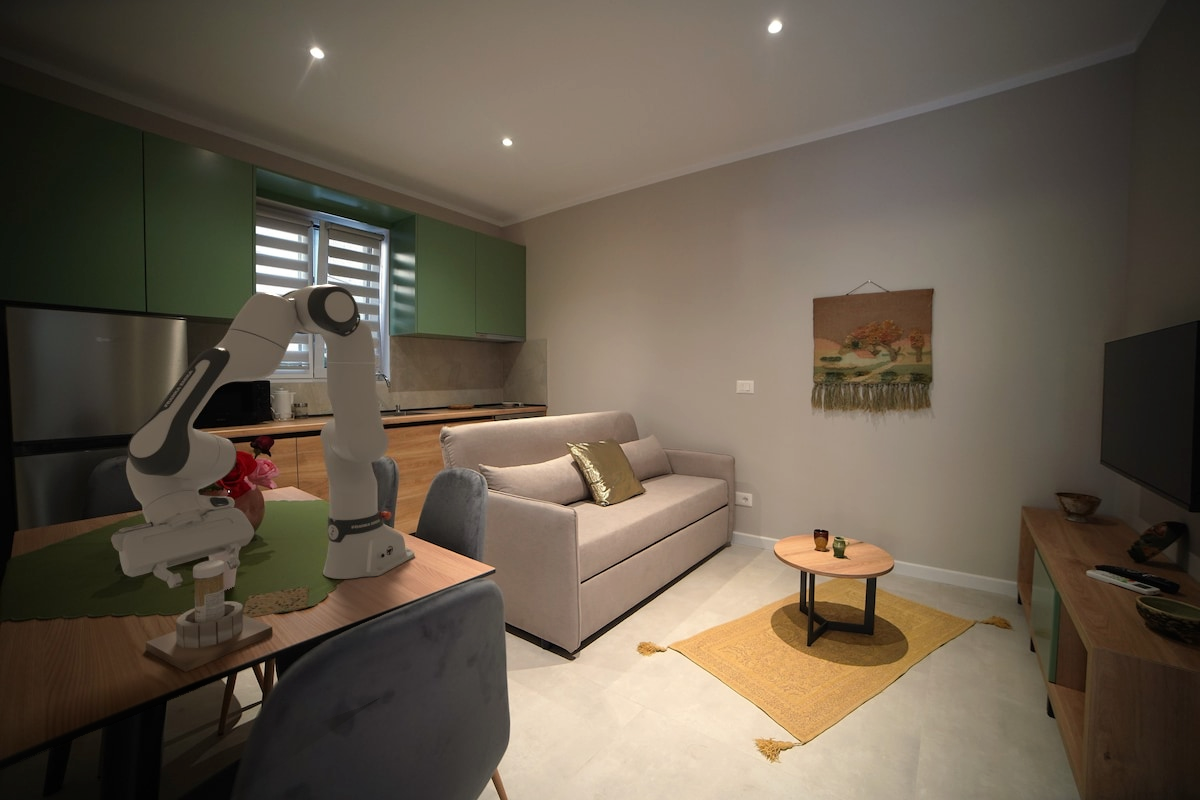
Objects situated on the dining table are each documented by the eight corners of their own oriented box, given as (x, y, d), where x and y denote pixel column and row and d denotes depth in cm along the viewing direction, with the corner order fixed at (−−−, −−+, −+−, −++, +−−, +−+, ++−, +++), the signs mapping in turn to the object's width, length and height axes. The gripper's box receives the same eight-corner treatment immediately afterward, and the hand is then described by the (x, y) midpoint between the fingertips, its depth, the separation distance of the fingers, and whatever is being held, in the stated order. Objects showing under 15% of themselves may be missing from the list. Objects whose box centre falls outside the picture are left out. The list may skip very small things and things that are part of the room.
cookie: (239, 622, 102) (239, 617, 102) (247, 598, 112) (247, 594, 112) (307, 609, 108) (307, 605, 107) (309, 588, 118) (309, 584, 118)
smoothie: (223, 594, 113) (221, 533, 112) (199, 591, 114) (198, 531, 114) (248, 583, 119) (247, 525, 119) (226, 580, 121) (224, 523, 120)
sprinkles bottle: (192, 635, 93) (189, 563, 92) (222, 625, 96) (220, 557, 96) (198, 643, 90) (196, 570, 89) (229, 633, 94) (227, 563, 93)
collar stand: (232, 617, 103) (231, 591, 103) (272, 634, 97) (272, 606, 96) (146, 650, 90) (145, 620, 90) (186, 672, 84) (185, 640, 84)
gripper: (112, 521, 87) (142, 587, 83) (240, 495, 105) (270, 549, 101) (102, 542, 89) (130, 607, 85) (229, 513, 108) (257, 566, 104)
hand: (207, 575), depth 94 cm, fingers open, 8 cm apart
